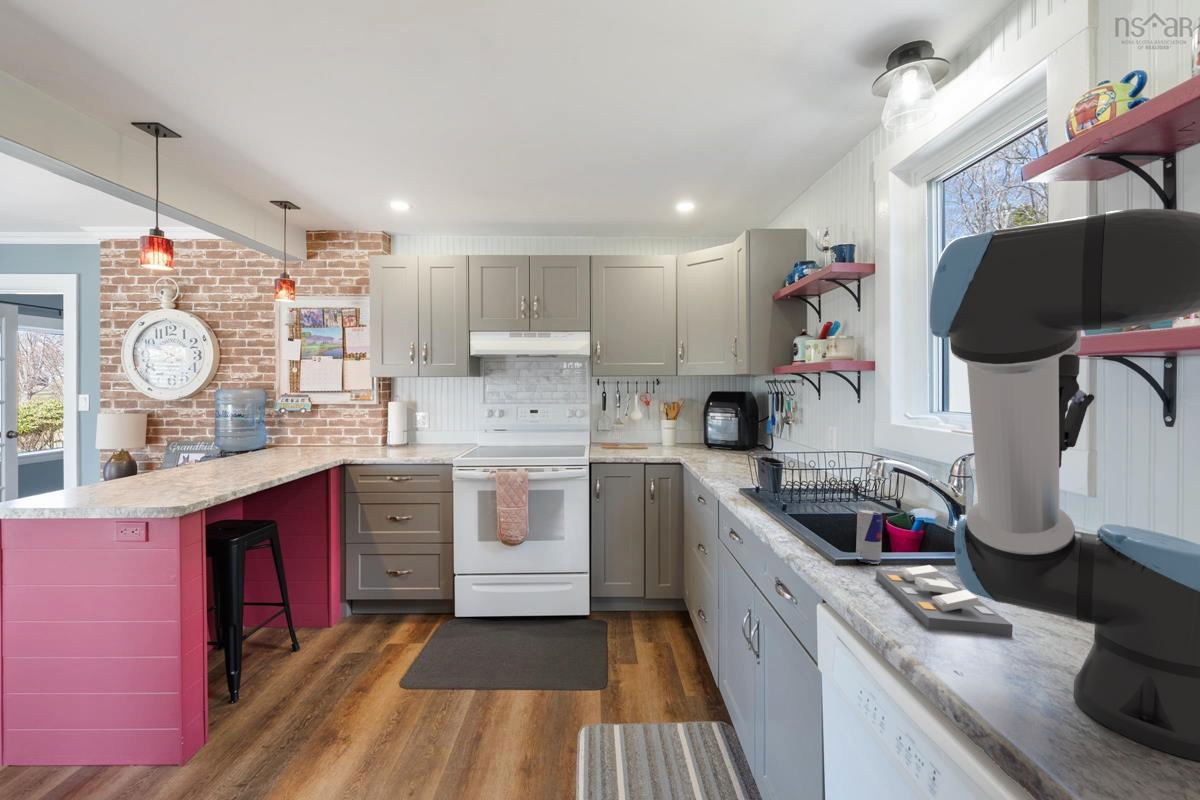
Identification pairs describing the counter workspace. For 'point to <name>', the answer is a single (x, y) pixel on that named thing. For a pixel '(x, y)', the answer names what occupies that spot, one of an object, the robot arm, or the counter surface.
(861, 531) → the energy drink
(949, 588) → the switch
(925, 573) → the switch
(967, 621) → the switch panel
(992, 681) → the counter surface
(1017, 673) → the counter surface
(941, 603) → the switch
